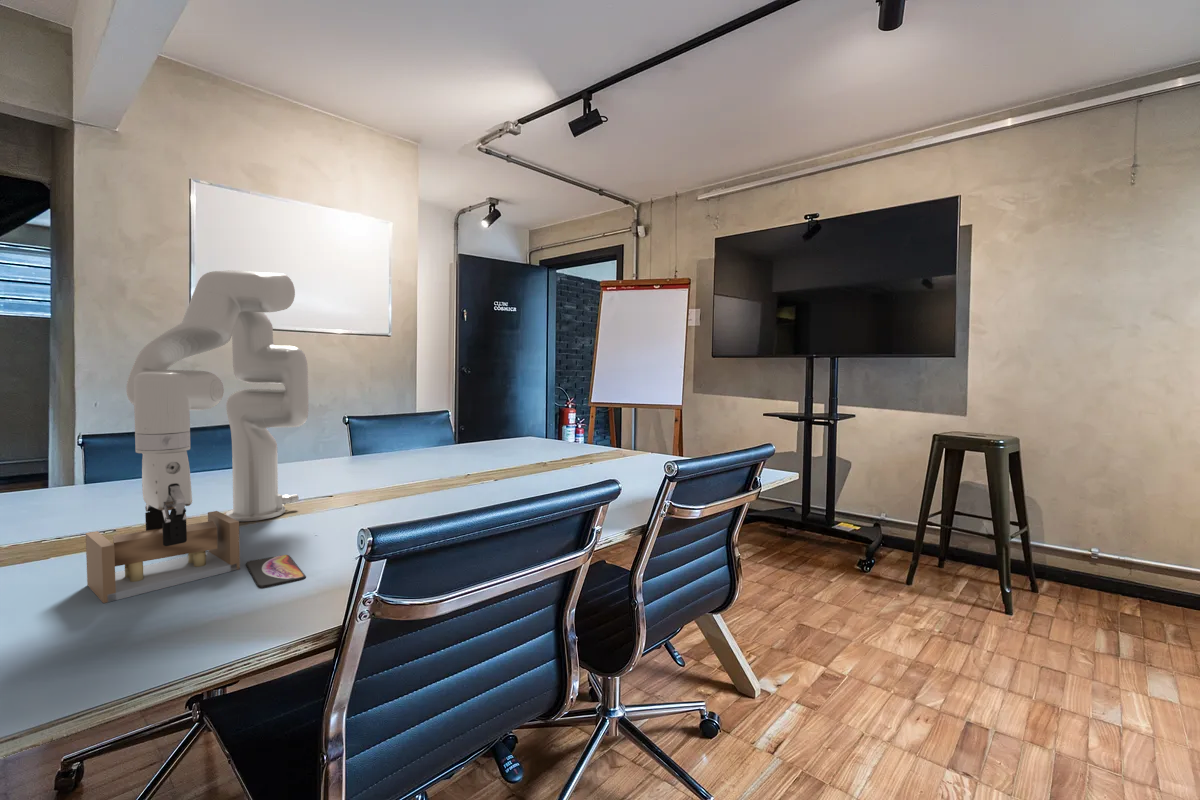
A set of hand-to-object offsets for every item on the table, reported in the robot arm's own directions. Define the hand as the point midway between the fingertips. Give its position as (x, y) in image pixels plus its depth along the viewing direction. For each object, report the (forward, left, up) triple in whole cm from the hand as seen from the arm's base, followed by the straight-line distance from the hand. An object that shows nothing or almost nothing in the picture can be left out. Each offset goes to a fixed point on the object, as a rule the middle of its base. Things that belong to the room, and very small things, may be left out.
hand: (166, 538), depth 96 cm
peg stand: (0, 0, -7) cm, 7 cm away
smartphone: (-13, +11, -8) cm, 19 cm away
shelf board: (0, 0, -3) cm, 3 cm away
